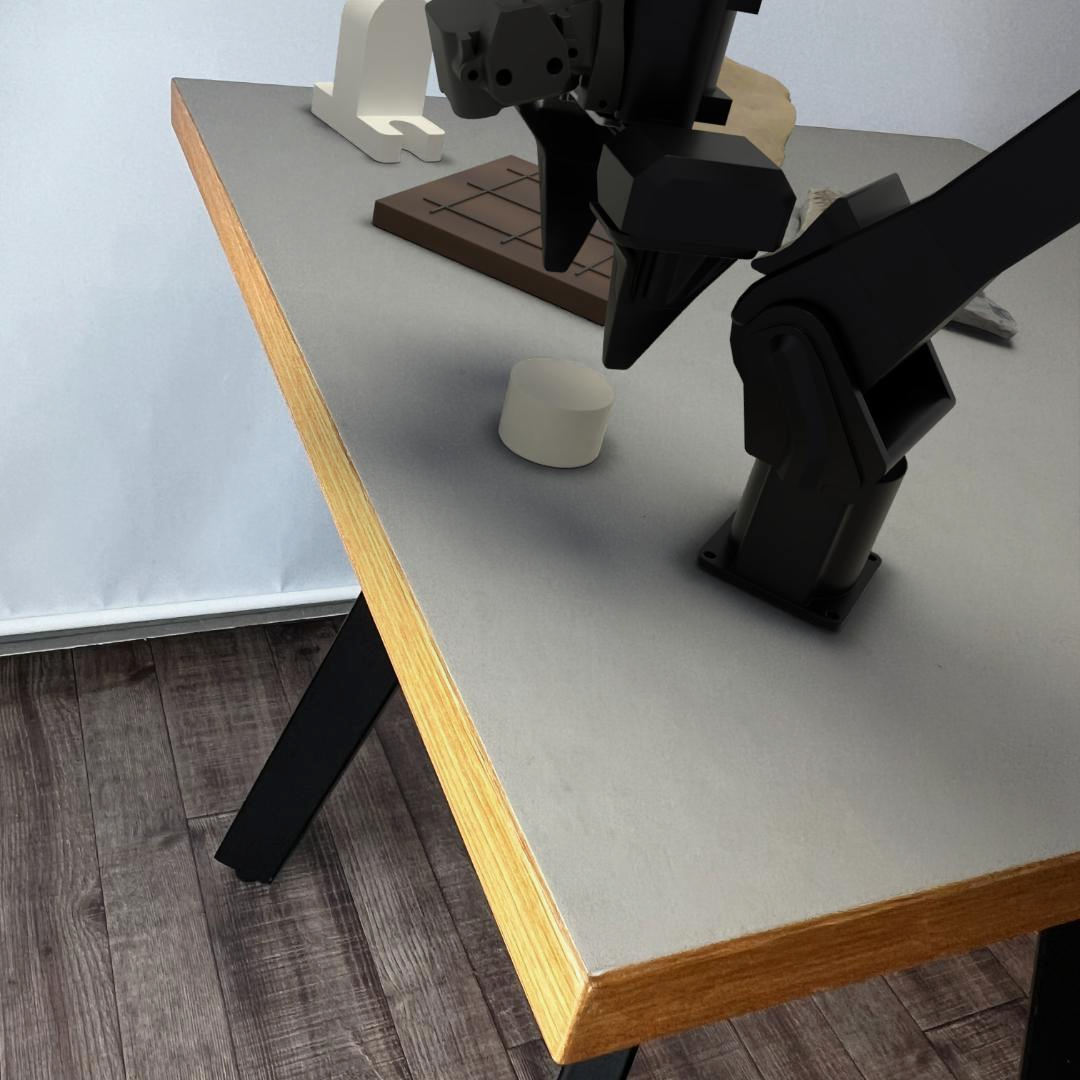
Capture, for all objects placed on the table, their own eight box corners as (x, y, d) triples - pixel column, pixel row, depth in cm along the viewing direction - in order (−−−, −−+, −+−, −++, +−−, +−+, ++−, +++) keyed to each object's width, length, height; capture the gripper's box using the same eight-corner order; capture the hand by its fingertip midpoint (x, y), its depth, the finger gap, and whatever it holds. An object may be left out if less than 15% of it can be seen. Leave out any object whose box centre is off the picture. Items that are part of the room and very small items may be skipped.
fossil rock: (796, 204, 95) (807, 175, 94) (987, 260, 94) (1000, 230, 93) (786, 282, 81) (798, 248, 79) (1011, 349, 80) (1027, 315, 78)
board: (603, 326, 69) (610, 299, 68) (371, 224, 74) (375, 198, 73) (711, 258, 81) (719, 235, 80) (506, 175, 86) (511, 152, 85)
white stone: (569, 480, 55) (585, 422, 53) (478, 436, 56) (491, 378, 55) (616, 442, 58) (632, 387, 57) (530, 402, 60) (543, 346, 58)
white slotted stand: (371, 109, 92) (391, -34, 86) (444, 161, 86) (470, 10, 80) (308, 109, 89) (324, -40, 83) (378, 162, 83) (400, 6, 77)
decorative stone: (604, 121, 102) (629, 18, 98) (774, 166, 102) (807, 65, 98) (592, 147, 96) (618, 38, 91) (773, 197, 95) (809, 89, 91)
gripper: (416, -159, 50) (365, 213, 58) (535, -52, 35) (445, 419, 44) (669, -107, 53) (586, 236, 62) (870, 9, 39) (726, 432, 48)
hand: (582, 316), depth 54 cm, fingers open, 9 cm apart
